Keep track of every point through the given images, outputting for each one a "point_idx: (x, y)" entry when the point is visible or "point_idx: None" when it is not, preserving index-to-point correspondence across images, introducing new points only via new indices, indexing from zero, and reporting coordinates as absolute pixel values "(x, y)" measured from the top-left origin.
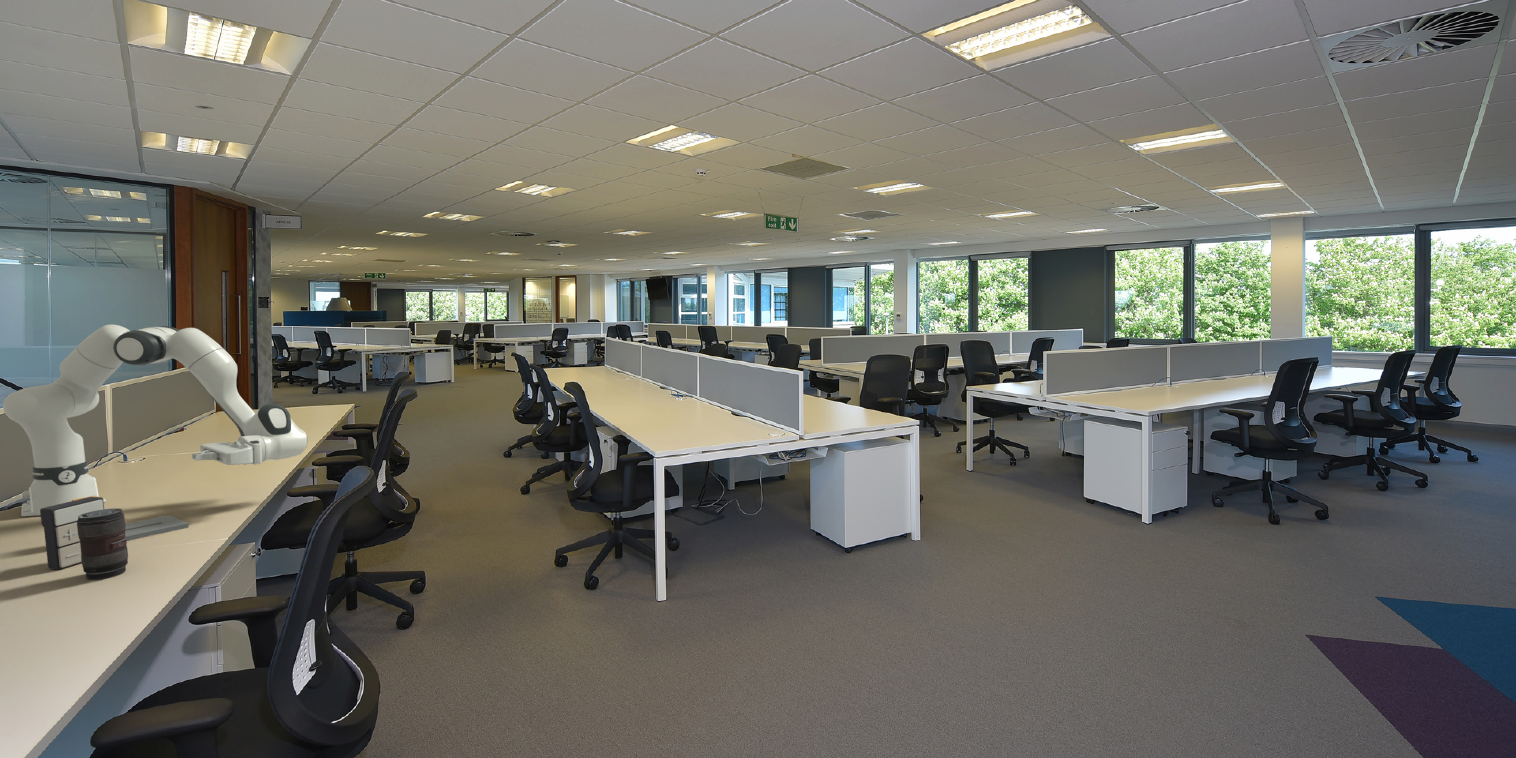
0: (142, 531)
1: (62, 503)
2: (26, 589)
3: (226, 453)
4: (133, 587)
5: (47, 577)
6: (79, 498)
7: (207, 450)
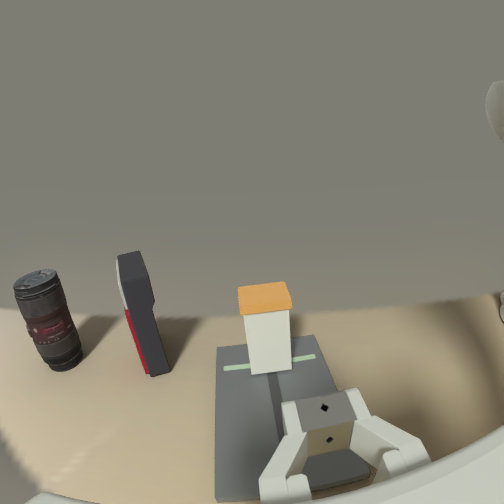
0: (229, 421)
1: (140, 258)
2: (105, 321)
3: (43, 494)
4: (6, 359)
5: (124, 332)
6: (283, 286)
7: (420, 456)
